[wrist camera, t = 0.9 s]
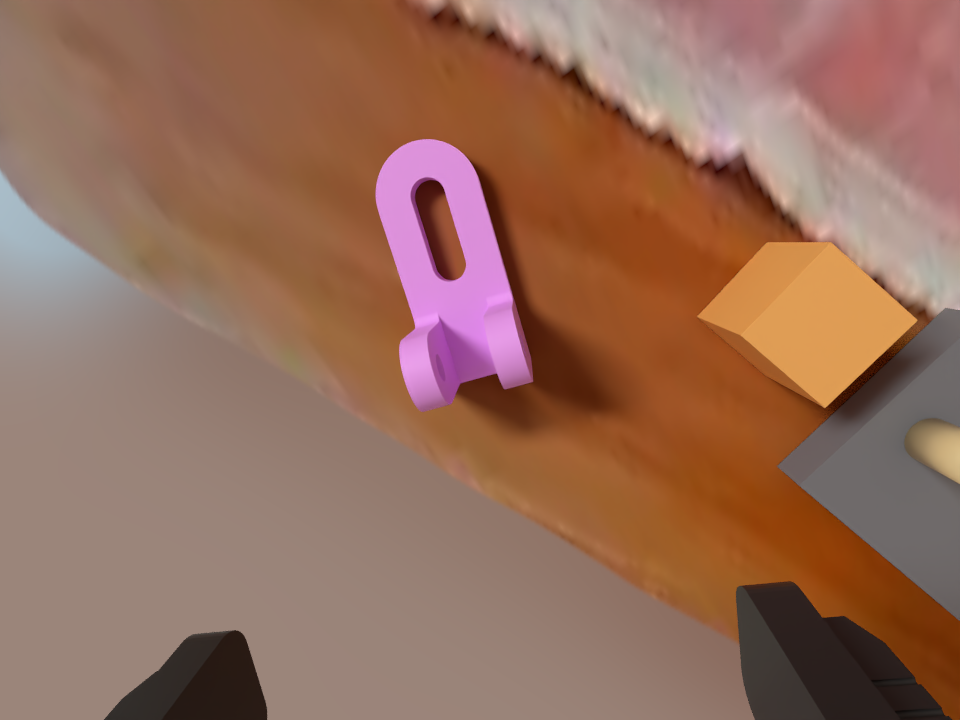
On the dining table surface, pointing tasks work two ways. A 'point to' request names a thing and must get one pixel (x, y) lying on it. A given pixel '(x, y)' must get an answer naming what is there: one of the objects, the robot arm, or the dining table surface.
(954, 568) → the mounting plate
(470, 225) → the bracket
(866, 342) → the orange wooden cube
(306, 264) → the dining table surface
